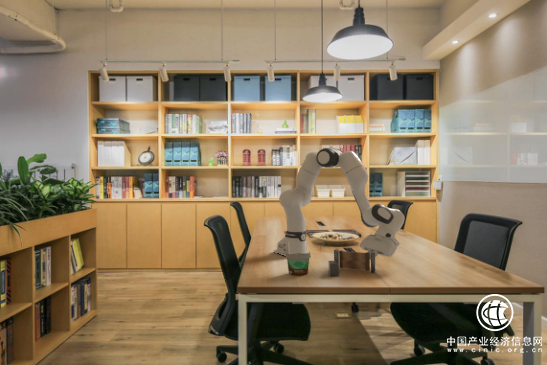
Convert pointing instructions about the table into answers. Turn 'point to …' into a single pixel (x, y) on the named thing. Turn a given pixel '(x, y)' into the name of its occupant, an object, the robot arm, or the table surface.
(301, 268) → the yogurt cup
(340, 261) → the brown wooden bar
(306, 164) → the robot arm
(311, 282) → the table surface
